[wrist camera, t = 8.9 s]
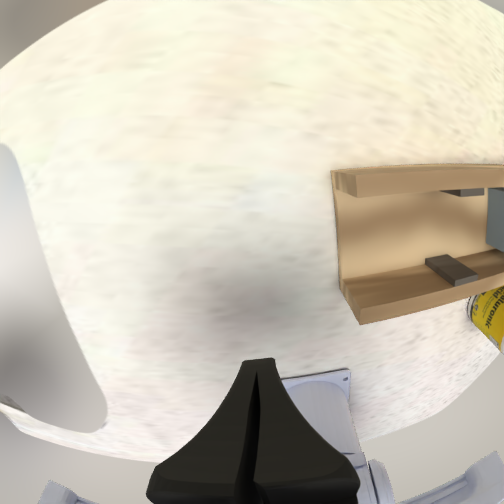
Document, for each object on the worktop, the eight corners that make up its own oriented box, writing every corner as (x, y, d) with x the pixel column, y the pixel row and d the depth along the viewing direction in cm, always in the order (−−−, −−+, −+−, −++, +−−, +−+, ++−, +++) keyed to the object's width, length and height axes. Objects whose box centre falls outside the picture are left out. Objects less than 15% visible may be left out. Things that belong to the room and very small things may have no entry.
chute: (503, 253, 20) (535, 272, 15) (339, 288, 21) (359, 325, 16) (507, 164, 17) (544, 171, 12) (330, 170, 18) (355, 175, 13)
